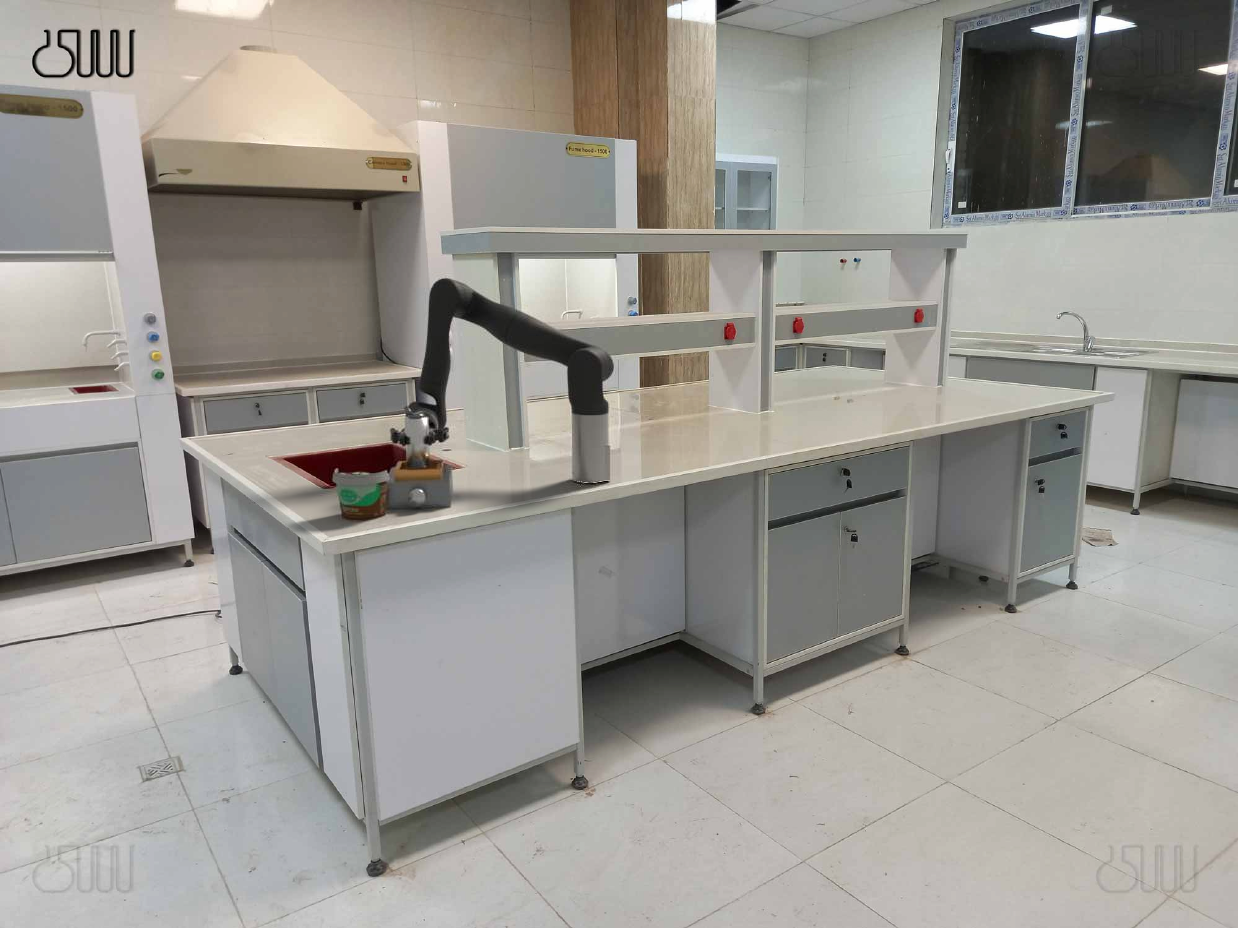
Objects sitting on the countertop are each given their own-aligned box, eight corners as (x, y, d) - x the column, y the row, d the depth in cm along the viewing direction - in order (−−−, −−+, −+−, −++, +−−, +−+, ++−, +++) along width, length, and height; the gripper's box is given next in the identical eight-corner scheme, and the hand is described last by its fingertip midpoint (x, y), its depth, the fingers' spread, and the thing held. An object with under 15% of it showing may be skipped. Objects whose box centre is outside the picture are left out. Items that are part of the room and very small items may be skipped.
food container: (324, 520, 180) (320, 474, 178) (338, 512, 186) (335, 467, 184) (379, 523, 178) (376, 476, 176) (391, 515, 184) (389, 470, 182)
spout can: (430, 462, 199) (428, 403, 195) (429, 467, 194) (426, 407, 190) (407, 462, 198) (404, 403, 195) (405, 468, 193) (402, 407, 190)
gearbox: (452, 489, 206) (451, 457, 204) (449, 510, 188) (448, 475, 186) (393, 491, 204) (391, 459, 202) (384, 513, 186) (382, 477, 184)
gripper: (390, 413, 206) (382, 425, 190) (451, 412, 208) (448, 424, 192) (392, 443, 208) (384, 458, 191) (452, 442, 210) (449, 456, 194)
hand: (416, 441), depth 192 cm, fingers closed on spout can, 5 cm apart
